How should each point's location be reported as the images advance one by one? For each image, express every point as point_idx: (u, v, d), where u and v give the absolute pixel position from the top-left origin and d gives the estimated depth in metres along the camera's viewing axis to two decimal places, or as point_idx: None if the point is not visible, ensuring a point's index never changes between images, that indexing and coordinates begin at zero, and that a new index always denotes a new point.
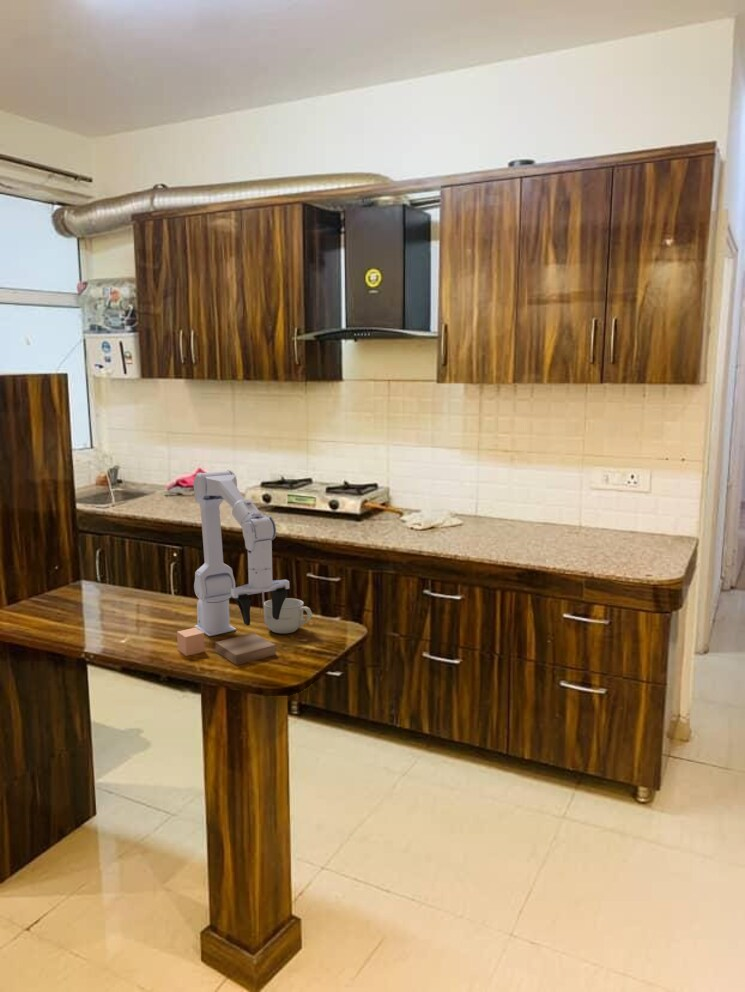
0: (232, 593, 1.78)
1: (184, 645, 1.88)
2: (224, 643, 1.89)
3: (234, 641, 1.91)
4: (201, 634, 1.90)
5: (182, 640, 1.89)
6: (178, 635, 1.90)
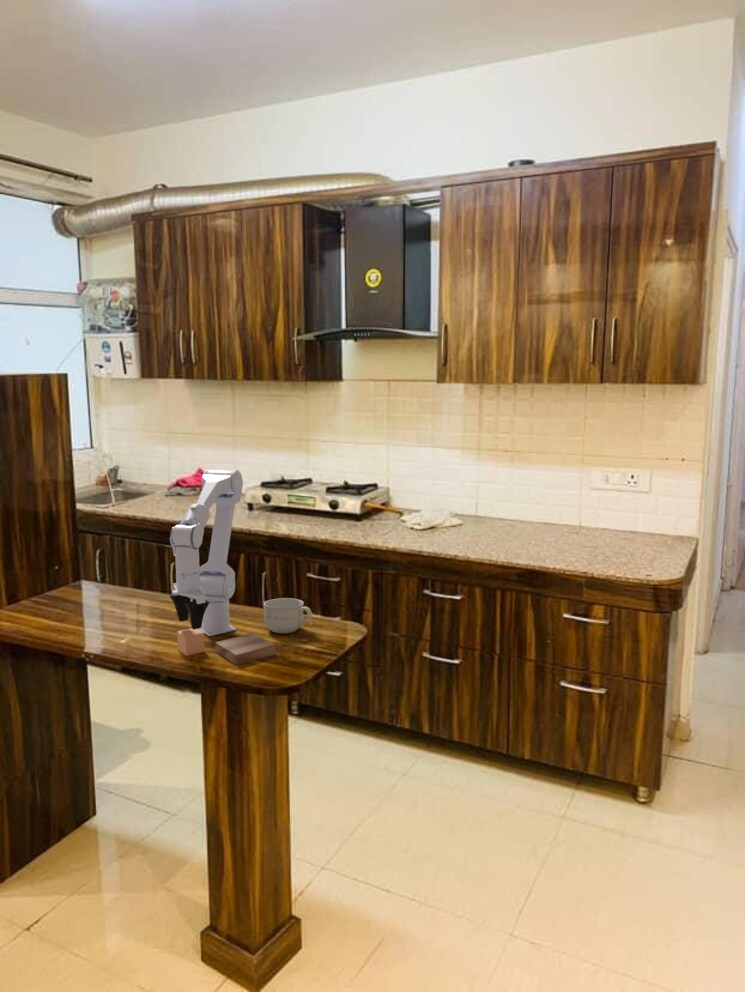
0: None
1: (184, 645, 1.88)
2: (224, 643, 1.89)
3: (234, 641, 1.91)
4: (201, 634, 1.90)
5: (182, 640, 1.89)
6: (178, 635, 1.90)
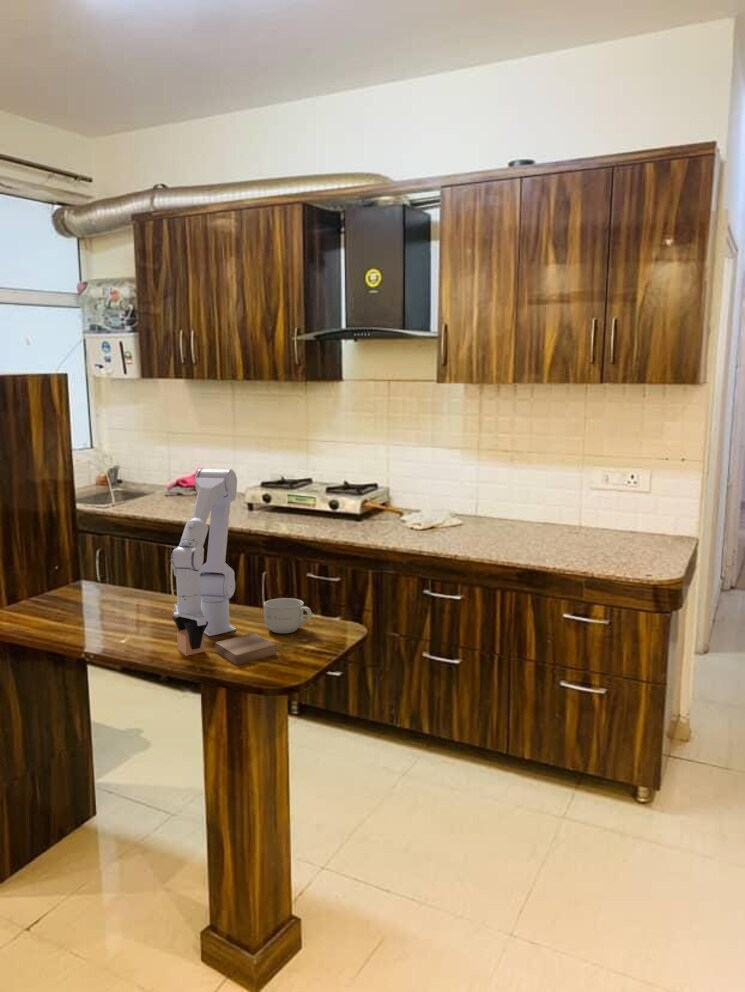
0: None
1: (184, 645, 1.88)
2: (224, 643, 1.89)
3: (234, 641, 1.91)
4: None
5: (182, 639, 1.89)
6: (178, 635, 1.90)
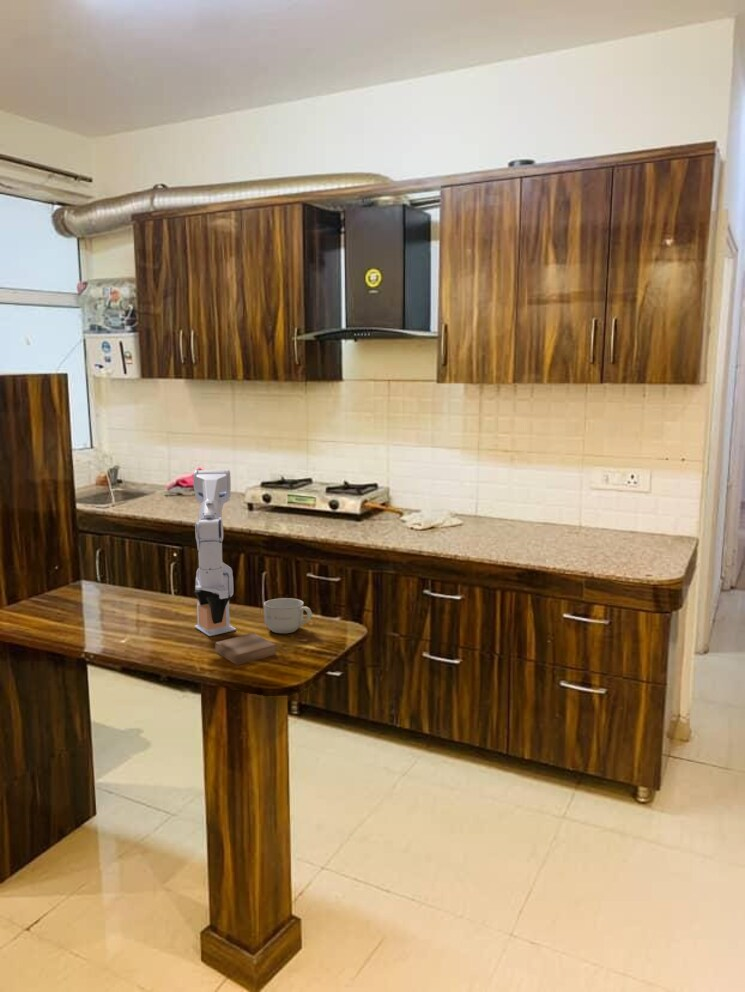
0: None
1: (205, 619, 1.86)
2: (224, 643, 1.89)
3: (234, 641, 1.91)
4: None
5: (203, 613, 1.87)
6: (199, 609, 1.89)
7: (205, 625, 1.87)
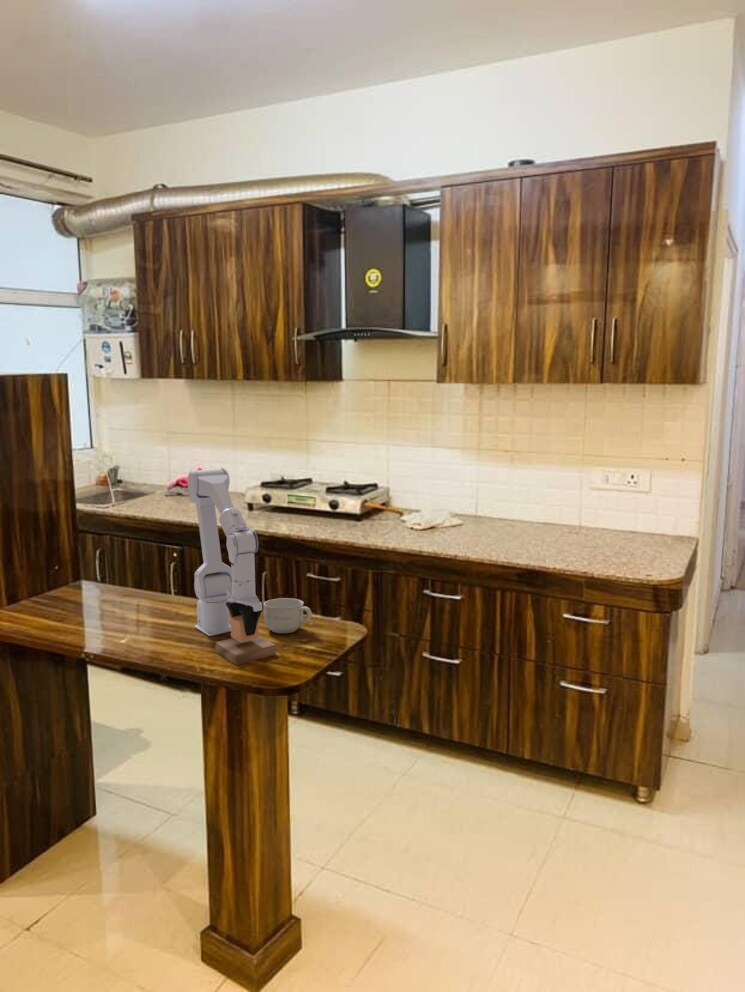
0: None
1: (238, 631, 1.86)
2: (224, 643, 1.89)
3: (234, 641, 1.91)
4: None
5: (236, 626, 1.86)
6: (232, 621, 1.88)
7: (238, 637, 1.86)
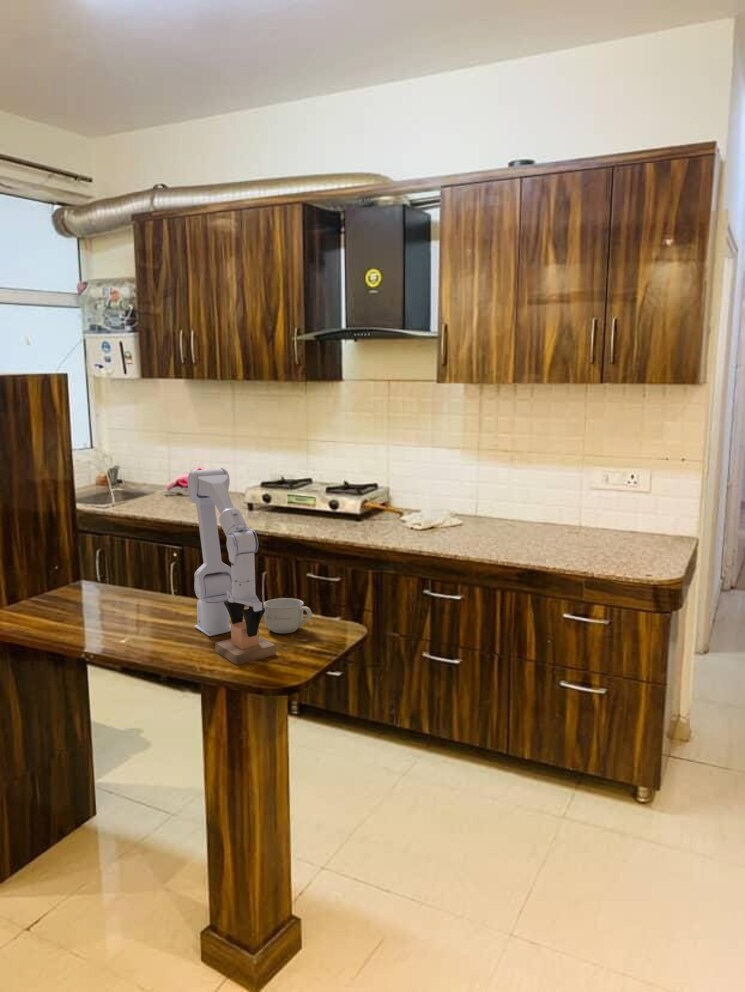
0: None
1: (239, 638, 1.86)
2: (224, 643, 1.89)
3: None
4: None
5: (237, 633, 1.86)
6: (232, 628, 1.88)
7: (239, 644, 1.86)
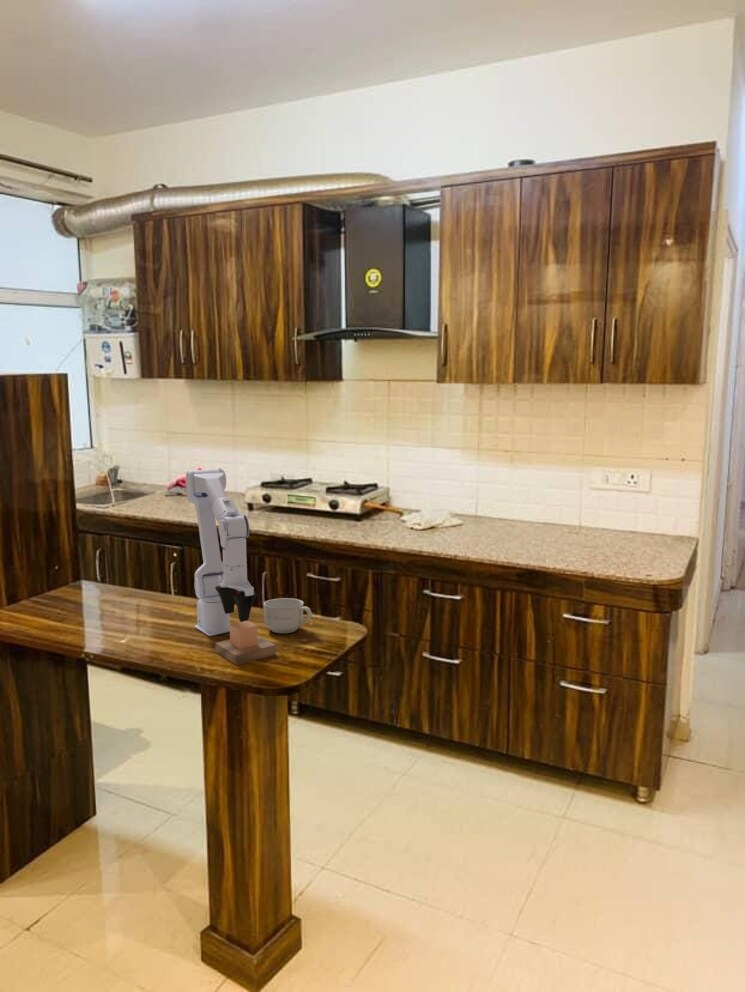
0: None
1: (238, 638, 1.86)
2: (224, 643, 1.89)
3: None
4: (254, 627, 1.88)
5: (235, 633, 1.86)
6: (231, 628, 1.88)
7: (237, 644, 1.86)
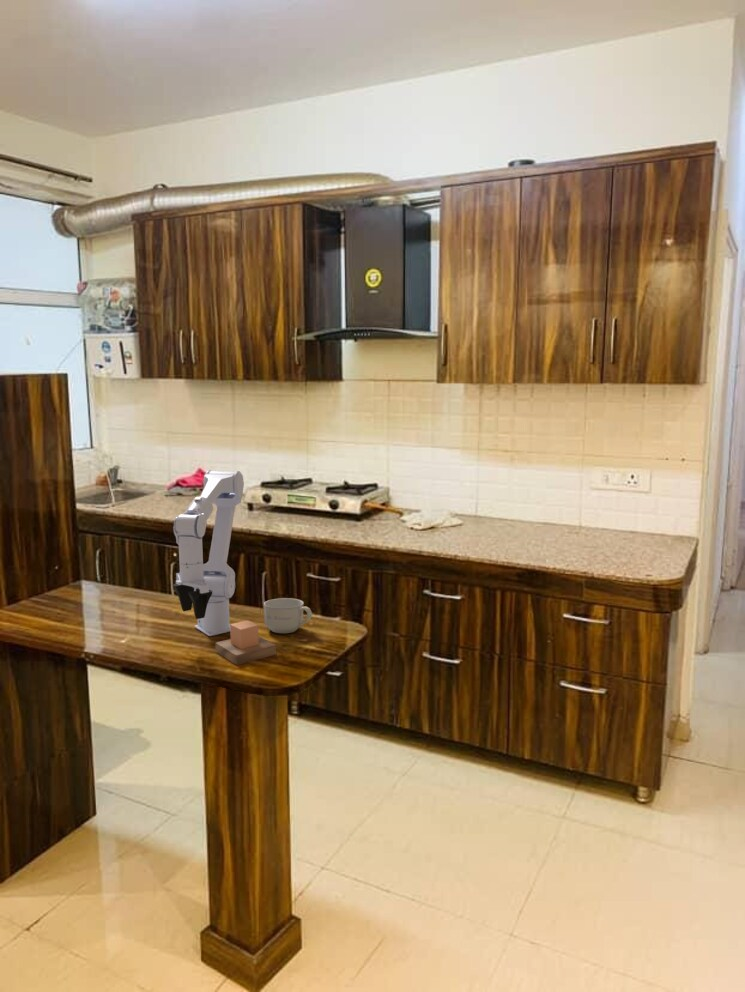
0: None
1: (239, 638, 1.86)
2: (225, 643, 1.89)
3: None
4: (255, 626, 1.88)
5: (236, 632, 1.87)
6: (231, 628, 1.88)
7: (238, 644, 1.87)
